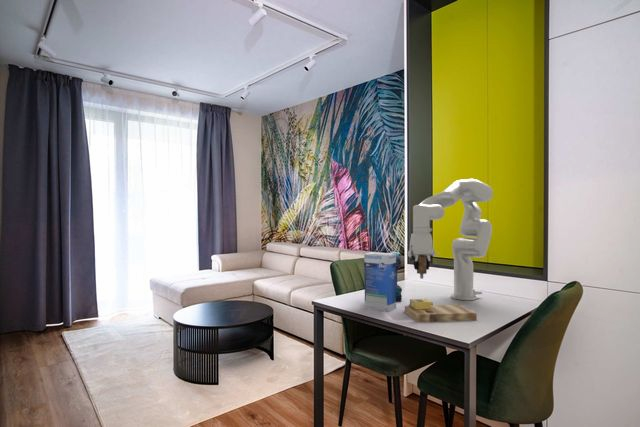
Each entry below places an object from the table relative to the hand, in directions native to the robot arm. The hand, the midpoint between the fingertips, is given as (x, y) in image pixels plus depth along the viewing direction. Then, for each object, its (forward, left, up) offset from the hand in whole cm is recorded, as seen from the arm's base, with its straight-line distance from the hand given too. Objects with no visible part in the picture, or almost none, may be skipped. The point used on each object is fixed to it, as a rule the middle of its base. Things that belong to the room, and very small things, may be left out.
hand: (421, 268), depth 170 cm
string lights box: (+20, 0, -18) cm, 27 cm away
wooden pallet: (-2, +15, -18) cm, 24 cm away
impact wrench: (+8, -16, -18) cm, 26 cm away
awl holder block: (0, 0, -18) cm, 18 cm away
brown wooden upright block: (0, 0, -4) cm, 4 cm away
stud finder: (+5, +12, -15) cm, 20 cm away
